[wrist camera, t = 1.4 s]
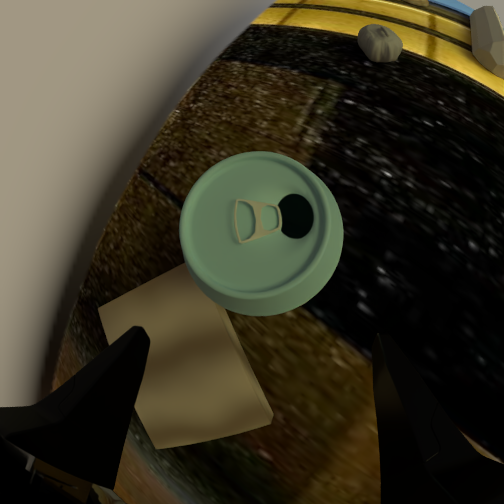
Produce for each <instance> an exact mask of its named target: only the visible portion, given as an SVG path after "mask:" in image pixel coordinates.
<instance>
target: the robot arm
mask: <svg viewBox="0 0 504 504" xmlns="http://www.w3.org/2000/svg"><path fill="white" fill-rule="evenodd" d="M149 348H150V338H149V336H148V334H147V333H146V331H145V329H144V328H143V327H142V326H132V327H131V328H130V329H129V330H127V331H126V332H125V333H124V334H123V335H121V336H120V337H119V338H118V339H117V340H115V341H114V342H113V343H112V344H111V345H109V346H108V347H107V348H106V349H105V350H103V351H102V352H101V353H100V354H99V355H97V356H96V357H95V358H94V359H93V360H91V361H90V362H89V363H88V364H87V365H86V366H84V367H83V368H82V369H81V370H80V371H78V372H77V373H76V375H74V376H72V377H71V378H70V379H69V380H68V381H66V382H65V383H64V384H63V385H62V386H60V387H59V388H58V389H56V390H55V391H53V392H52V393H51V394H49V395H48V396H46V397H45V398H44V399H42V400H41V401H39V402H38V403H36V404H34V405H31V406H24V407H0V504H101V503H100V501H99V499H98V497H97V495H96V493H95V490H94V488H92V485H93V484H96V485H98V486H101V487H104V488H107V489H110V490H113V489H114V486H115V481H116V477H117V472H118V468H119V464H120V460H121V455H122V451H123V447H124V443H125V439H126V435H127V431H128V428H129V424H130V420H131V417H132V413H133V410H134V406H135V403H136V399H137V396H138V393H139V389H140V386H141V383H142V380H143V376H144V372H145V367H146V363H147V358H148V353H149ZM372 364H373V391H374V400H375V408H376V417H377V427H378V439H379V453H380V474H381V504H504V464H502V463H499V462H497V461H494V460H492V459H489V458H487V457H485V456H483V455H481V454H480V453H479V452H477V451H476V450H475V449H474V447H473V446H472V445H471V444H470V443H469V441H468V440H467V439H466V438H465V437H464V435H463V434H462V433H461V432H460V431H459V429H458V428H457V427H456V426H455V425H454V423H453V422H452V421H451V420H450V418H449V417H448V415H447V414H446V412H445V411H444V410H443V408H442V407H441V405H440V404H439V403H437V402H438V401H437V399H436V398H435V396H434V395H433V394H432V392H431V391H430V389H429V388H428V386H427V385H426V384H425V382H424V381H423V379H422V378H421V377H420V375H419V374H418V372H417V371H416V370H415V368H414V367H413V365H412V364H411V363H410V361H409V360H408V359H407V357H406V356H405V355H404V353H403V352H402V351H401V349H400V348H399V347H398V345H397V344H396V343H395V341H394V340H393V339H392V337H391V336H390V335H389V334H388V333H378V334H377V335H376V338H375V341H374V344H373V347H372Z"/></svg>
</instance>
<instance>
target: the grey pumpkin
mask: <svg viewBox="0 0 504 504" xmlns="http://www.w3.org/2000/svg"><path fill="white" fill-rule="evenodd" d="M358 44H359V46H360V48H361V49H362V50H363V52H364V53H365V55H366V56H367V57H368V58H369V59H370V60H371V61H374V62H391V61H395V60H397V58H398V56H399V55H400V53H401V50H402V47H403V43H402V41H401V39H400V38H399V37H398V36H397V35H396V34H395V33H394V32H393V31H392V30H390V29H389V28H387V27H385V26H382V25H377V24H371V25H367V26H365V27H363V28H362V29H361V30H360V31H359V33H358Z"/></svg>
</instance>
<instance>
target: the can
mask: <svg viewBox="0 0 504 504" xmlns="http://www.w3.org/2000/svg"><path fill="white" fill-rule="evenodd" d="M179 235H180V243H181V247H182V251H183V256H184V260H185V263H186V266H187V268H188V271H189V273H190V275H191V277H192V278H193V280H194V281H195V283H196V284H197V286H198V287H199V288H200V289H201V291H202V292H203V293H204V294H205V295H206V296H207V297H209V298H210V299H211V300H212V301H214V302H215V303H217V304H218V305H220V306H222V307H224V308H226V309H228V310H230V311H233V312H236V313H240V314H244V315H250V316H269V315H276V314H280V313H284V312H287V311H290V310H292V309H294V308H296V307H298V306H301V305H302V304H304V303H306V302H307V301H308V300H310V299H311V298H312V297H314V296H315V295H316V294H317V293H318V292H319V291H320V290H321V289H322V288H323V287H324V285H325V284H326V283H327V282H328V280H329V279H330V277H331V276H332V274H333V272H334V270H335V268H336V266H337V263H338V261H339V258H340V255H341V250H342V245H343V224H342V218H341V214H340V211H339V208H338V205H337V203H336V201H335V199H334V197H333V195H332V194H331V192H330V190H329V189H328V188H327V186H326V185H325V184H324V183H323V182H322V181H321V180H320V179H319V178H318V177H317V176H316V175H315V174H314V173H312V172H311V171H309V170H308V169H307V168H306V167H305V166H303V165H302V164H300V163H299V162H297V161H295V160H293V159H291V158H289V157H287V156H284V155H281V154H277V153H272V152H262V151H257V152H246V153H242V154H238V155H234V156H231V157H229V158H227V159H224V160H222V161H221V162H219V163H217V164H216V165H214V166H213V167H211V168H210V169H209V170H207V171H206V172H205V173H204V174H203V175H202V176H201V177H200V178H199V179H198V180H197V182H196V183H195V184H194V186H193V187H192V189H191V190H190V192H189V194H188V196H187V198H186V200H185V202H184V205H183V208H182V212H181V216H180V223H179Z"/></svg>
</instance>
